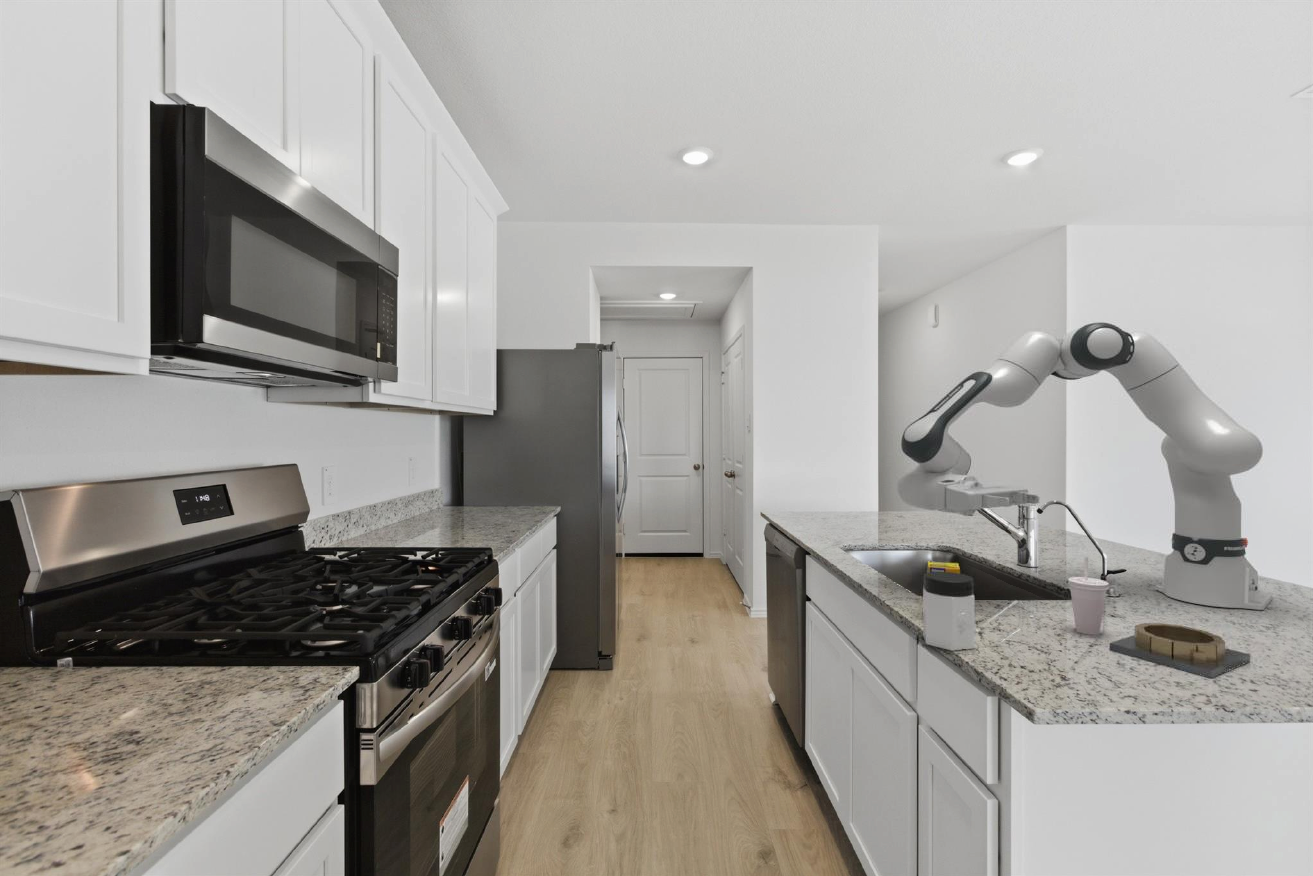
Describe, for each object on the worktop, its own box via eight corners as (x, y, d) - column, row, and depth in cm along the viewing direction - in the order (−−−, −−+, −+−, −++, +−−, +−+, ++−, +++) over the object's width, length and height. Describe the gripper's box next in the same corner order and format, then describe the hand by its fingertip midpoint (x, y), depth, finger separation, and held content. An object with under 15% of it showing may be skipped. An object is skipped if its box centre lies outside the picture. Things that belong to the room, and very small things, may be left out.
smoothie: (1095, 626, 120) (1095, 554, 120) (1116, 638, 113) (1117, 561, 113) (1060, 626, 120) (1060, 554, 120) (1079, 637, 114) (1080, 561, 114)
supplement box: (927, 620, 124) (927, 566, 124) (926, 612, 130) (926, 560, 130) (960, 623, 122) (960, 568, 122) (958, 615, 128) (958, 562, 128)
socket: (1150, 636, 114) (1150, 616, 114) (1250, 661, 102) (1250, 639, 102) (1109, 649, 107) (1109, 628, 107) (1211, 678, 95) (1211, 654, 95)
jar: (941, 653, 107) (941, 583, 106) (912, 637, 114) (912, 572, 114) (986, 648, 109) (986, 580, 108) (954, 633, 116) (954, 570, 116)
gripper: (991, 505, 144) (1052, 512, 132) (932, 511, 135) (993, 520, 122) (991, 478, 144) (1053, 483, 132) (932, 482, 134) (993, 488, 122)
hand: (1023, 500), depth 127 cm, fingers open, 8 cm apart
